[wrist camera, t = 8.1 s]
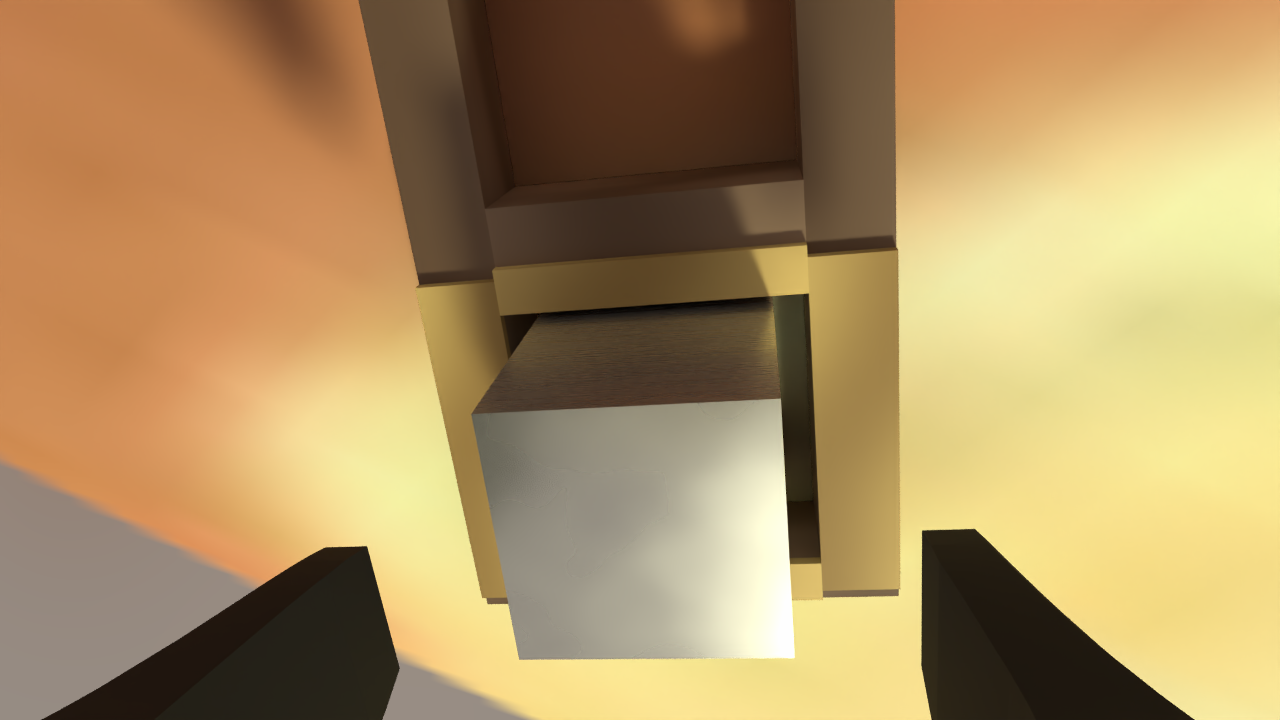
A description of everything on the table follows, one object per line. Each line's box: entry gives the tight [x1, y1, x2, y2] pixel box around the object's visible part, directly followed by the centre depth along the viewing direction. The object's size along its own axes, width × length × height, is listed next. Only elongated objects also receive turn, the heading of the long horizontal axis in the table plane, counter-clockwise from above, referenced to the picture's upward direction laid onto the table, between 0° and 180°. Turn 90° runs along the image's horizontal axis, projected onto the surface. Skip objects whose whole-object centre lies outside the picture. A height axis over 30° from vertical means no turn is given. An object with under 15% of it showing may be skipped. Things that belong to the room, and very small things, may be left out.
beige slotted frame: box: [359, 0, 900, 604], centre depth 14 cm, size 8×21×2 cm, turn 7°
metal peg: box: [471, 296, 795, 660], centre depth 14 cm, size 4×4×6 cm
